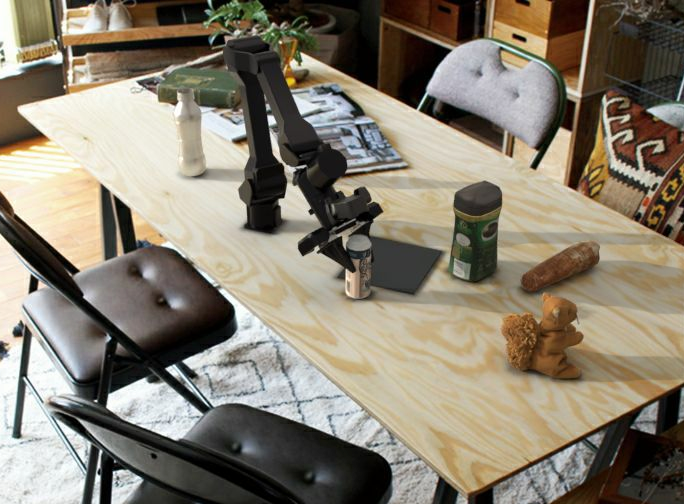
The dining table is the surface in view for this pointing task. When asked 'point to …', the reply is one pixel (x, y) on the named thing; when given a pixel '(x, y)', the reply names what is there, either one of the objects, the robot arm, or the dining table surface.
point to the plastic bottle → (189, 134)
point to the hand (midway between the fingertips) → (363, 267)
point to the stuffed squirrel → (543, 338)
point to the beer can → (359, 266)
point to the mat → (399, 265)
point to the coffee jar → (475, 231)
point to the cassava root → (562, 265)
